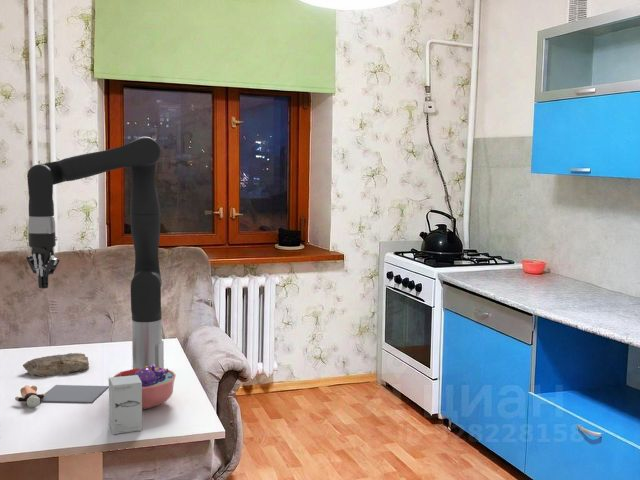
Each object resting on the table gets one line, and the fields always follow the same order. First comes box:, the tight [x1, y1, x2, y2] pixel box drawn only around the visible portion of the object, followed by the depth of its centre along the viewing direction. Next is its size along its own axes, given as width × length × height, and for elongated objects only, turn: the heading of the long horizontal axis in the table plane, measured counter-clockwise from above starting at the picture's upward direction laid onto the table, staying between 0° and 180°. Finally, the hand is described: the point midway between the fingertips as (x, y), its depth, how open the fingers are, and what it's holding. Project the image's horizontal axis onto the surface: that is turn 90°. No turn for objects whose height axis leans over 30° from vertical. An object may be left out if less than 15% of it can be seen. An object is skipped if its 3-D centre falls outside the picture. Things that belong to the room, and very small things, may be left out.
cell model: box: [113, 365, 176, 410], centre depth 186 cm, size 17×20×11 cm
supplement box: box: [108, 375, 143, 435], centre depth 169 cm, size 7×7×13 cm
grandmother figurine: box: [14, 384, 45, 408], centre depth 187 cm, size 8×4×13 cm
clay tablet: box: [22, 352, 90, 377], centre depth 218 cm, size 14×5×20 cm
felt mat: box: [40, 384, 109, 404], centre depth 195 cm, size 16×14×1 cm
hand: (43, 288), depth 203 cm, fingers closed
